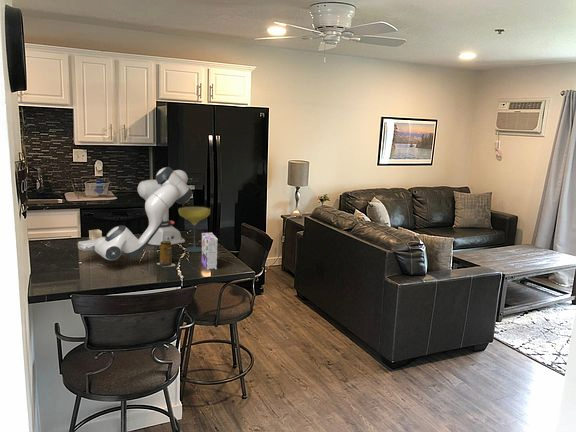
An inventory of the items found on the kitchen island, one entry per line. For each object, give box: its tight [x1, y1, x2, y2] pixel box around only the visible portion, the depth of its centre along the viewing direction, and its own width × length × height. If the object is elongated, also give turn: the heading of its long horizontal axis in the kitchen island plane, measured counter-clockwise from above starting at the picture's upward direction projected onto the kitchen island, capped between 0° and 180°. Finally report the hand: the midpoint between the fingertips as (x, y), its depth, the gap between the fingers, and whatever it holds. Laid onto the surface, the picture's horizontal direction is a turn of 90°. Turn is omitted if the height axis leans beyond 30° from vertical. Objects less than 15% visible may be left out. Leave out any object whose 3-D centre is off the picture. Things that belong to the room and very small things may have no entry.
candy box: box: [201, 232, 219, 271], centre depth 236 cm, size 14×6×16 cm, turn 21°
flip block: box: [88, 228, 103, 253], centre depth 240 cm, size 5×5×11 cm
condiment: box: [156, 241, 177, 268], centre depth 236 cm, size 7×8×12 cm
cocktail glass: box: [178, 204, 211, 253], centre depth 266 cm, size 18×18×25 cm
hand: (95, 240), depth 240 cm, fingers closed on flip block, 5 cm apart
